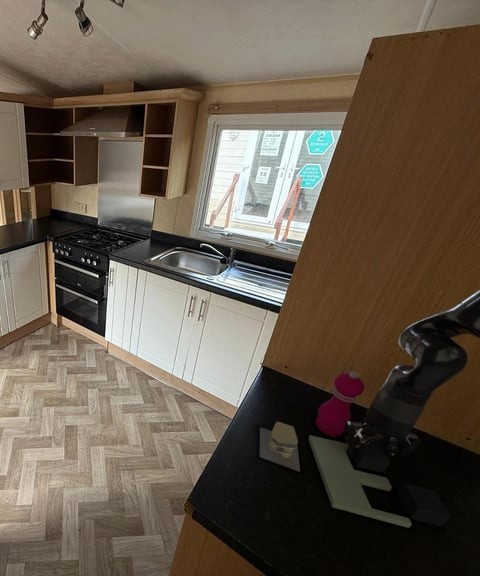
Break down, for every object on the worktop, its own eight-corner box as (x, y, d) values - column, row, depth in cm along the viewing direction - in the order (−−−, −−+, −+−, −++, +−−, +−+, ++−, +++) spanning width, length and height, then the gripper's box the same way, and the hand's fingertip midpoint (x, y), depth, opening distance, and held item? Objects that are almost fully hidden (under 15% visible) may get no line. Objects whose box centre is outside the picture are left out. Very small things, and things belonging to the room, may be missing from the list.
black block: (425, 500, 70) (434, 490, 68) (441, 526, 65) (451, 516, 64) (396, 493, 71) (404, 482, 70) (410, 518, 67) (418, 507, 65)
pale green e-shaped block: (369, 452, 80) (371, 448, 80) (408, 528, 65) (412, 524, 64) (307, 438, 84) (309, 435, 83) (331, 507, 69) (334, 503, 68)
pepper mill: (309, 426, 88) (334, 371, 79) (317, 412, 92) (341, 359, 83) (340, 443, 83) (370, 386, 74) (347, 428, 87) (375, 372, 78)
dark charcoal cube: (372, 452, 78) (379, 442, 76) (383, 472, 74) (390, 462, 72) (347, 447, 80) (353, 436, 78) (356, 466, 75) (363, 455, 73)
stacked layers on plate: (260, 427, 87) (264, 413, 85) (296, 439, 84) (302, 425, 81) (259, 457, 79) (264, 442, 77) (300, 472, 76) (306, 457, 73)
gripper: (424, 403, 70) (392, 453, 78) (350, 389, 74) (326, 438, 82) (447, 430, 64) (409, 481, 71) (364, 414, 68) (337, 464, 75)
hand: (365, 458), depth 76 cm, fingers closed on dark charcoal cube, 5 cm apart
